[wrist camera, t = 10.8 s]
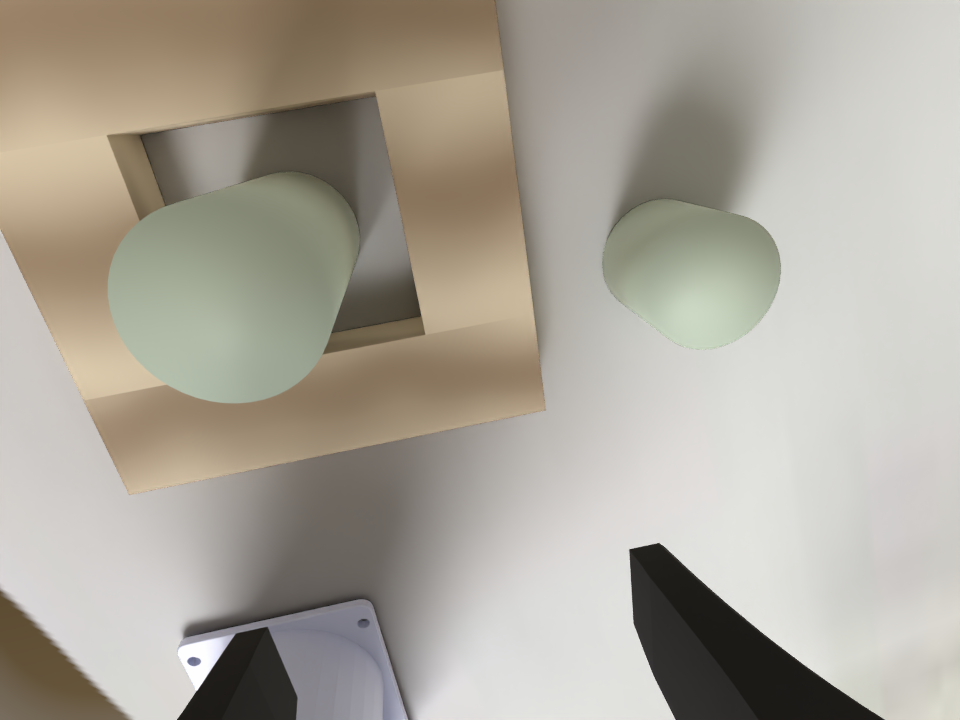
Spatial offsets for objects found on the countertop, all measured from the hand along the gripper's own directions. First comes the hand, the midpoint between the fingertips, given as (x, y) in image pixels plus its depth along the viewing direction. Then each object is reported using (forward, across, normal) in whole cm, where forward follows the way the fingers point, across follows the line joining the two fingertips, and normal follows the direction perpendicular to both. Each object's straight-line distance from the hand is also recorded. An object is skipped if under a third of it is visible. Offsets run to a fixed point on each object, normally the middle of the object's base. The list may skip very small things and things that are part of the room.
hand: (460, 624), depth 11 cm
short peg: (+11, -9, -4) cm, 14 cm away
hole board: (+10, +3, -6) cm, 13 cm away
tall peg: (+10, +3, -6) cm, 13 cm away
